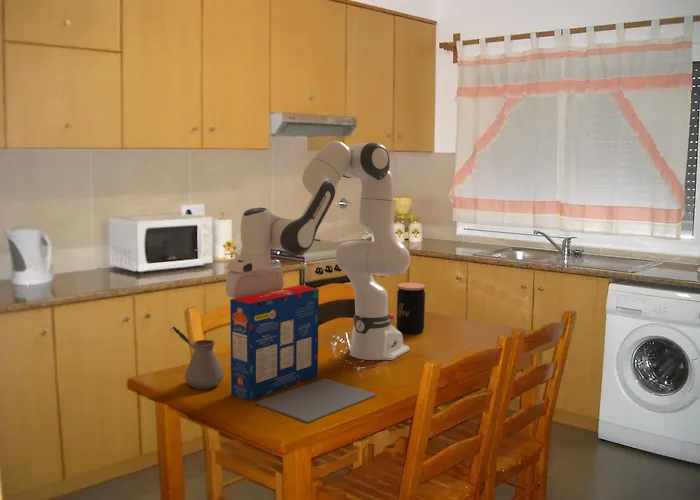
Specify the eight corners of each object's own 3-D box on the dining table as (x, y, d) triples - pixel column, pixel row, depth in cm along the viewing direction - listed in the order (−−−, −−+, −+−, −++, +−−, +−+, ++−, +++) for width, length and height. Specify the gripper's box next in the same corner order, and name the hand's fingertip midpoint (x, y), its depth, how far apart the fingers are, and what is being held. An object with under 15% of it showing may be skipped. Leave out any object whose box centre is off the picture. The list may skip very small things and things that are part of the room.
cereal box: (299, 371, 226) (299, 285, 222) (317, 377, 221) (318, 288, 217) (231, 394, 205) (230, 299, 201) (250, 401, 200) (249, 303, 196)
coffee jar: (392, 328, 281) (393, 283, 279) (417, 326, 284) (418, 282, 282) (402, 335, 271) (403, 288, 269) (428, 333, 274) (429, 287, 272)
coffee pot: (232, 384, 214) (231, 335, 211) (200, 394, 205) (199, 343, 203) (188, 368, 228) (187, 322, 225) (157, 377, 219) (156, 329, 217)
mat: (325, 379, 219) (325, 378, 219) (376, 395, 206) (376, 394, 206) (256, 403, 198) (256, 402, 198) (307, 423, 185) (307, 421, 185)
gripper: (274, 257, 223) (274, 301, 225) (222, 265, 208) (222, 311, 210) (288, 260, 219) (288, 304, 221) (236, 268, 204) (236, 315, 206)
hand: (255, 308), depth 216 cm, fingers closed
